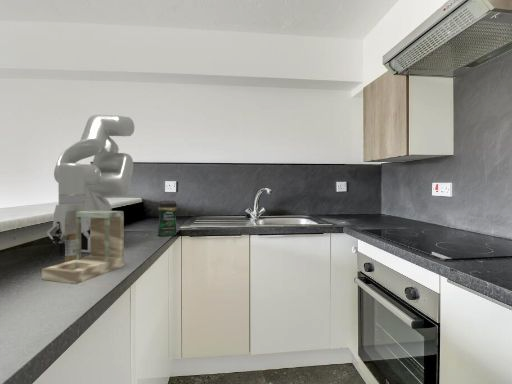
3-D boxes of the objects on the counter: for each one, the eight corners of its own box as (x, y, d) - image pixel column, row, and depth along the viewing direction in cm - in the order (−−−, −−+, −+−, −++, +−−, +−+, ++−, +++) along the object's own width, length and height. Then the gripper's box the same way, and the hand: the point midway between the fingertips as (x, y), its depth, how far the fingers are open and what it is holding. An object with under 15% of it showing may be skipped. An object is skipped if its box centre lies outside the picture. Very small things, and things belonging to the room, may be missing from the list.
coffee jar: (158, 237, 149) (158, 201, 149) (157, 234, 156) (157, 200, 156) (177, 235, 152) (177, 200, 152) (176, 233, 160) (176, 200, 159)
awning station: (94, 263, 98) (93, 210, 98) (123, 266, 95) (123, 211, 94) (41, 279, 81) (41, 215, 80) (75, 283, 78) (75, 216, 77)
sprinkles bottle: (78, 261, 100) (77, 222, 100) (82, 264, 97) (82, 224, 97) (62, 264, 97) (62, 224, 96) (66, 266, 94) (66, 225, 93)
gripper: (85, 199, 106) (85, 246, 106) (37, 201, 89) (38, 257, 89) (101, 199, 104) (102, 247, 104) (56, 201, 87) (56, 259, 87)
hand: (72, 252), depth 97 cm, fingers open, 8 cm apart
